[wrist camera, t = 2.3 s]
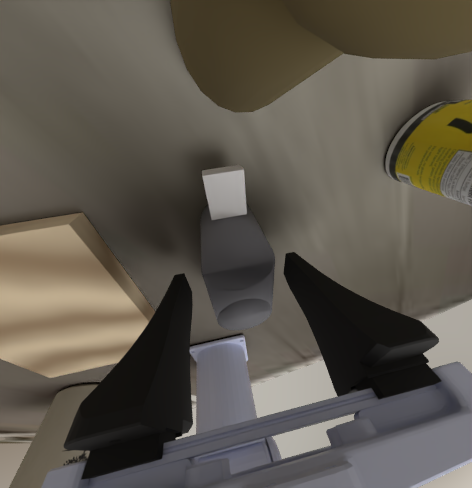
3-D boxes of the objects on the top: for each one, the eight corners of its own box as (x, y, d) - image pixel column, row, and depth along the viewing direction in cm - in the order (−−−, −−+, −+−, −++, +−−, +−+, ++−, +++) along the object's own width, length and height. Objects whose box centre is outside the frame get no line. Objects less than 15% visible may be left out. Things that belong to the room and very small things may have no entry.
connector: (254, 276, 18) (271, 323, 14) (216, 284, 17) (221, 334, 13) (249, 154, 11) (279, 178, 7) (184, 164, 10) (176, 195, 6)
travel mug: (85, 402, 30) (-15, 658, 16) (42, 393, 25) (-159, 753, 11) (128, 389, 30) (65, 636, 16) (93, 377, 25) (-43, 721, 11)
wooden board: (173, 337, 22) (172, 350, 21) (58, 363, 21) (50, 378, 20) (82, 212, 11) (68, 224, 10) (-174, 253, 10) (-225, 272, 9)
